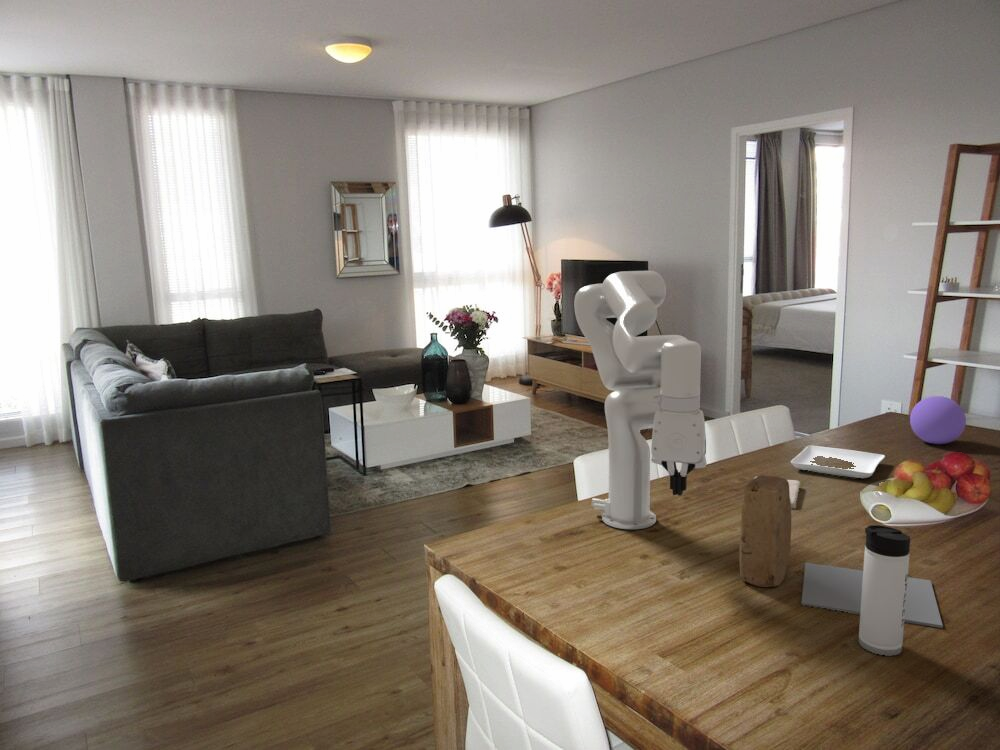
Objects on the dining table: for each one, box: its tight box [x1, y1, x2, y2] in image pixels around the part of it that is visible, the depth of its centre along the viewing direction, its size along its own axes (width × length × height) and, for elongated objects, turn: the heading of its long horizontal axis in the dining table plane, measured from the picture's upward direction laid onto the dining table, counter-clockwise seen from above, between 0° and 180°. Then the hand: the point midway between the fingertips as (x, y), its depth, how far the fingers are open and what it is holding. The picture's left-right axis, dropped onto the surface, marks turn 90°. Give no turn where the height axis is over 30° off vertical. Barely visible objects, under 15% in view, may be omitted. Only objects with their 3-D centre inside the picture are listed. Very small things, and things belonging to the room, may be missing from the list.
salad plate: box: [790, 444, 886, 479], centre depth 211 cm, size 21×21×3 cm
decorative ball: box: [909, 395, 967, 445], centre depth 231 cm, size 15×15×15 cm
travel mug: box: [858, 524, 912, 657], centre depth 118 cm, size 6×7×20 cm
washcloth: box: [753, 475, 802, 509], centre depth 190 cm, size 12×18×3 cm, turn 156°
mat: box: [801, 562, 944, 629], centre depth 137 cm, size 22×18×1 cm
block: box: [739, 474, 792, 588], centre depth 143 cm, size 11×8×20 cm
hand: (678, 493), depth 149 cm, fingers closed
